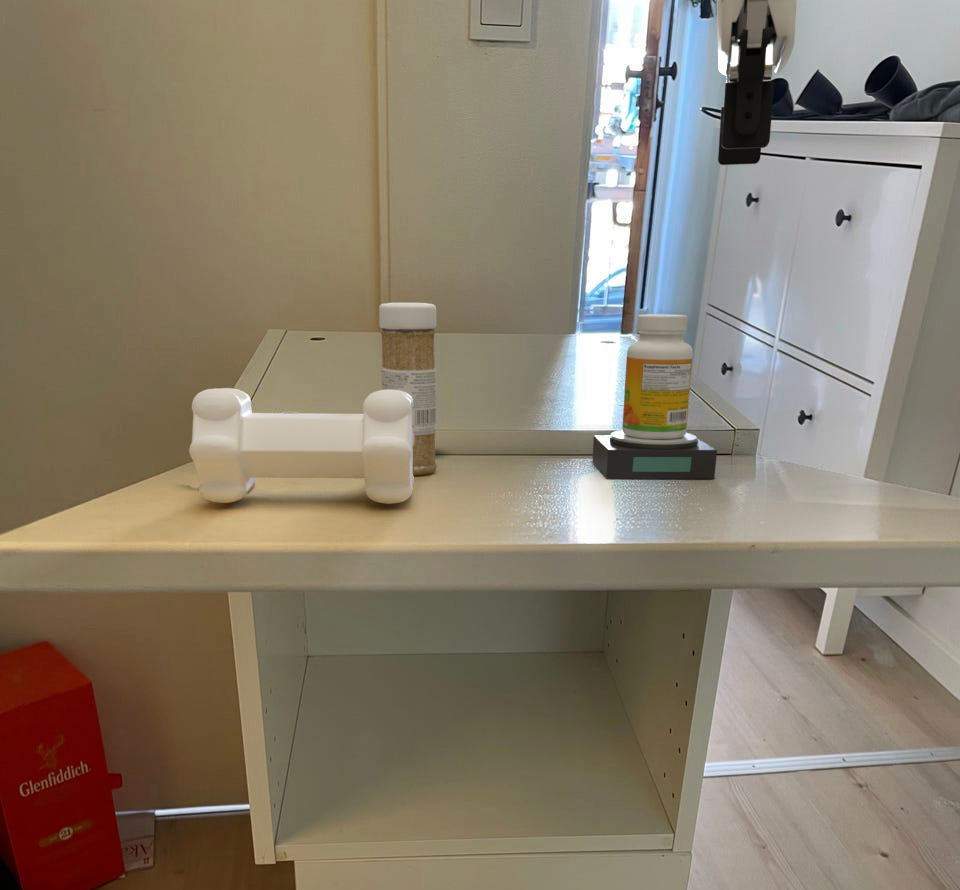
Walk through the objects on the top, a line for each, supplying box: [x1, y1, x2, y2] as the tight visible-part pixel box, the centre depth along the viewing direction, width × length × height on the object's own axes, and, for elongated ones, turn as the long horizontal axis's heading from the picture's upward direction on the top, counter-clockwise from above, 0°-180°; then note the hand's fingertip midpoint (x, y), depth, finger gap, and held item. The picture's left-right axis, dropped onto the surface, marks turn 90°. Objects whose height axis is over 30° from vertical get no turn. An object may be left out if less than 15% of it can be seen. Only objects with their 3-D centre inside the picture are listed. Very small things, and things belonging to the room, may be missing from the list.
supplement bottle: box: [622, 313, 694, 439], centre depth 81 cm, size 5×5×10 cm
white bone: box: [188, 387, 415, 505], centre depth 69 cm, size 15×9×8 cm, turn 92°
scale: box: [591, 429, 718, 480], centre depth 83 cm, size 9×8×3 cm
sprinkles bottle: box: [378, 301, 438, 476], centre depth 80 cm, size 5×5×13 cm
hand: (741, 156), depth 72 cm, fingers open, 9 cm apart
